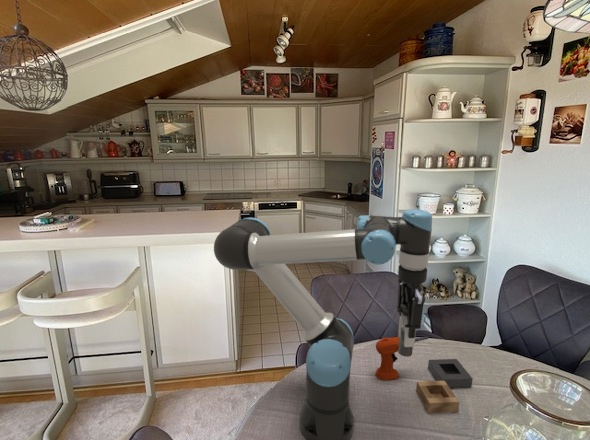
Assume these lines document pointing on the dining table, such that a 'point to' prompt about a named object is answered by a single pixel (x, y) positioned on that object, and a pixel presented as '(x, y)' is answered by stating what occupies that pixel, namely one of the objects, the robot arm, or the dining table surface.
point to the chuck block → (450, 373)
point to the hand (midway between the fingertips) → (405, 341)
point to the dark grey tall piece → (403, 331)
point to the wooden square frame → (437, 397)
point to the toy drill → (389, 357)
